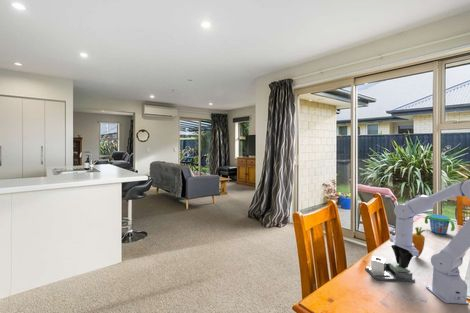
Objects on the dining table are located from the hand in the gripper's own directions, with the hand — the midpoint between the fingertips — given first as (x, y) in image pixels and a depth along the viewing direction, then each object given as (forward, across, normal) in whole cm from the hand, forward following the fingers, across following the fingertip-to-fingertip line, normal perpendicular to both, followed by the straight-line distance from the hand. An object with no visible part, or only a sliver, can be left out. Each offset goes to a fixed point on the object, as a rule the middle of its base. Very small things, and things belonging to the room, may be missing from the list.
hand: (402, 265), depth 102 cm
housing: (+3, 0, +10) cm, 10 cm away
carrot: (+5, +17, -19) cm, 26 cm away
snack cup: (+5, +52, -58) cm, 78 cm away
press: (+4, 0, +6) cm, 8 cm away
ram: (+3, 0, +1) cm, 3 cm away
